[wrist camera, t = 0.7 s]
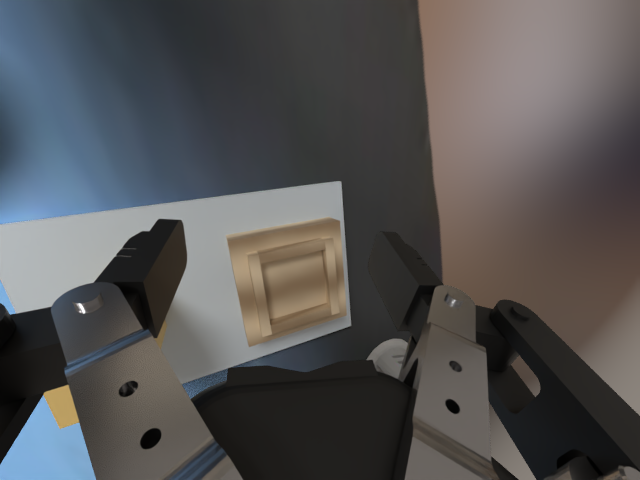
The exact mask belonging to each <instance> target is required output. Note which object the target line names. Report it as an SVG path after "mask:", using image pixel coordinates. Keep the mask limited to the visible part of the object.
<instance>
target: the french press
mask: <svg viewBox="0 0 640 480" xmlns="http://www.w3.org/2000/svg"><path fill="white" fill-rule="evenodd" d="M407 345H408V343H407V342H405V341H404V340H402V339H390V340H388V341H385V342H383V343H381V344H380V345H379V346H378V347H376V348H375V349H374V350H373V351H372V352H371V354H370V355H369V357H368V358H367V360H373V362H374V365H375V368H376V371H378V372H382V373H385V374H388V375H390V376H392V377H395V378H397V379H398V376H399V373H400V369H401V366H402V362H403V359H404V355H405V352H406V348H407Z"/></svg>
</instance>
